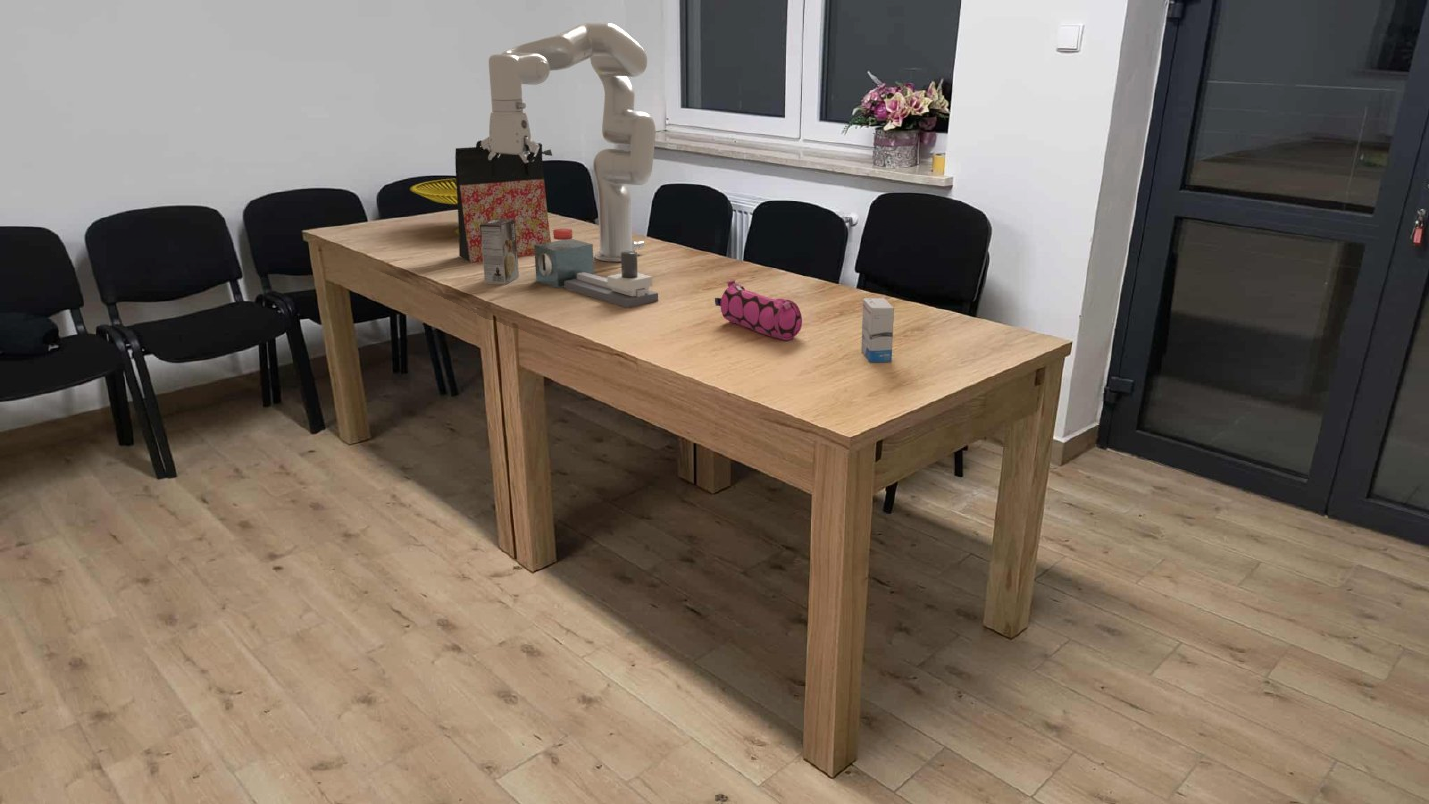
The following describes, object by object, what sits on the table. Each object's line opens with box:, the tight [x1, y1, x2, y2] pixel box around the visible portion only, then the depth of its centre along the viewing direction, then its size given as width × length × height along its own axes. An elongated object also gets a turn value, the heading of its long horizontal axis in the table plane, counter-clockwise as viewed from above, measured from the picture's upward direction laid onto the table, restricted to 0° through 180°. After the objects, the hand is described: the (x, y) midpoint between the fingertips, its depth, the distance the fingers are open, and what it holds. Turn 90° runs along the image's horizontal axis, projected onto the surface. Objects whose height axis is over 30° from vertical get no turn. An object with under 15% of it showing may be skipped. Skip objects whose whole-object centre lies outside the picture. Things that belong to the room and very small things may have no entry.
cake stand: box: [410, 178, 459, 235], centre depth 326 cm, size 40×40×15 cm
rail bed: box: [564, 272, 659, 309], centre depth 253 cm, size 10×26×4 cm, turn 44°
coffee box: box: [480, 219, 520, 285], centre depth 264 cm, size 9×6×16 cm
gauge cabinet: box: [534, 238, 595, 289], centre depth 264 cm, size 13×10×10 cm
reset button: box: [552, 228, 573, 241], centre depth 262 cm, size 5×5×2 cm
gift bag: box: [454, 140, 553, 263], centre depth 290 cm, size 29×14×35 cm, turn 122°
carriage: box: [606, 251, 653, 296], centre depth 246 cm, size 8×8×10 cm
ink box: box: [860, 297, 895, 363], centre depth 206 cm, size 9×5×12 cm, turn 5°
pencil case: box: [714, 279, 803, 341], centre depth 223 cm, size 21×10×10 cm, turn 41°
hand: (512, 177), depth 249 cm, fingers open, 9 cm apart
